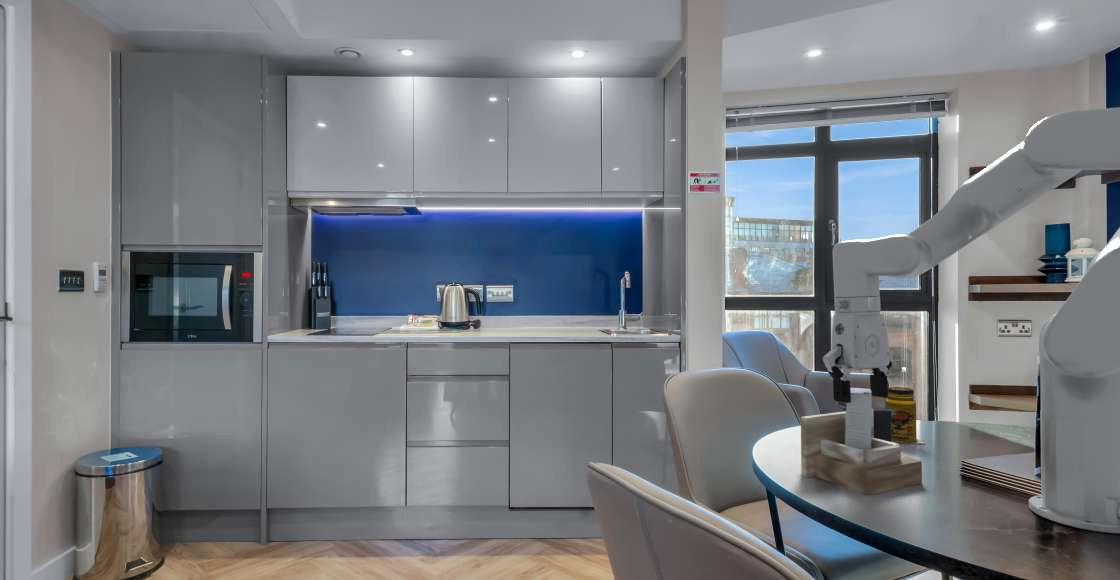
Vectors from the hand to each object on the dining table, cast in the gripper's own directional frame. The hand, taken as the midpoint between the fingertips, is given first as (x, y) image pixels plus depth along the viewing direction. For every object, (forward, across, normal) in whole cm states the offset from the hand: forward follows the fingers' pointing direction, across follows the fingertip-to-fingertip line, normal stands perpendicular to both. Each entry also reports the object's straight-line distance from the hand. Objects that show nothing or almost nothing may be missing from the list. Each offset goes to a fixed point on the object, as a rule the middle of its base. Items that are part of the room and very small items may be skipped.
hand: (861, 399), depth 105 cm
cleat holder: (+14, 0, +1) cm, 15 cm away
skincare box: (+11, 0, +1) cm, 11 cm away
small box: (+15, +14, +11) cm, 23 cm away
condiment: (+15, +32, +16) cm, 38 cm away
